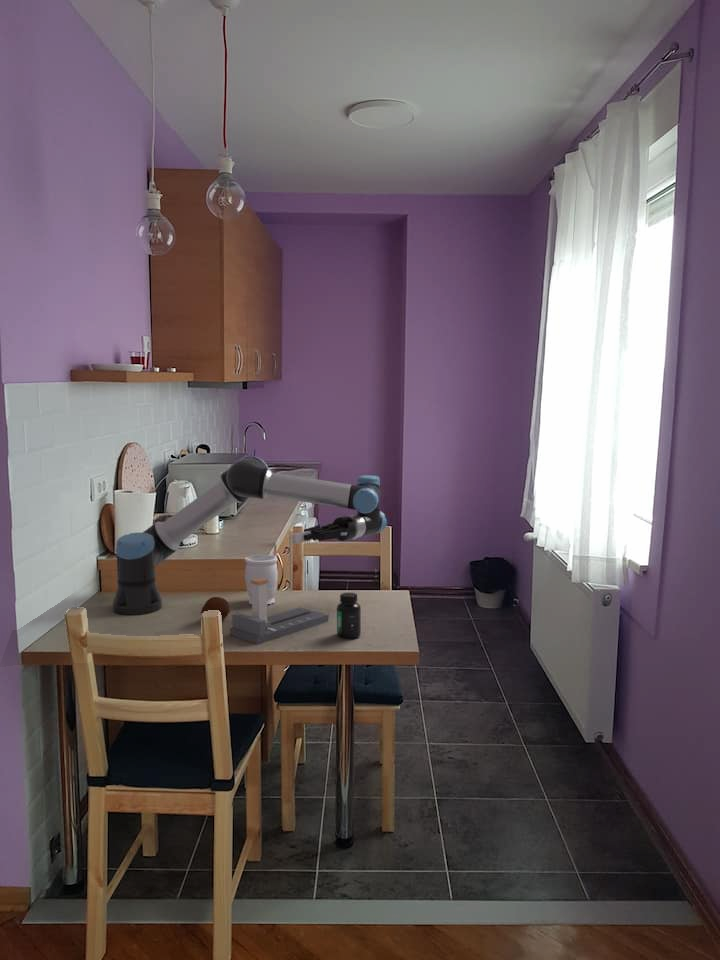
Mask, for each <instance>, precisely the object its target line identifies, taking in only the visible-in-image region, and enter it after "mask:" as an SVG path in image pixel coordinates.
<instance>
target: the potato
mask: <svg viewBox="0 0 720 960" xmlns="http://www.w3.org/2000/svg"><path fill="white" fill-rule="evenodd" d="M208 610H219V611H220V612H221V615H222V621H224V619H226V618H227V617H228V615H229V614H230V610H231V609H230V606H229V602H228V601H227V600H226V599H225V598H223V597H220V596H219V597H218V596H213V597H209V599H207V600H206V601H205V603H204V604H203V606H202V608H201V612H200V613H201V614H202V613H203V612H204V611H208Z"/></svg>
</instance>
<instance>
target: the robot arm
mask: <svg viewBox="0 0 720 960" xmlns="http://www.w3.org/2000/svg"><path fill="white" fill-rule="evenodd" d="M380 483H381V480H380V477H379V476H378V475H368V474H367V475H359V476H358V477H357V478H356V485H355V484H349V483H341V482H335V481H329V480H322V479H316V478H312V477H311V478H310V477H304V476H296V475H291V474H283V473H278V472H273V471H272V470H271V469H270V468H269V466H268V465H267V463H266V462H265V461H264V460H263V459H262V458H260V457H257V456H245V457H243V458H241V459H240V460H238V461H236V462H234V463H232V464H231V465H230V466H229V468H228V469H227V470H225V471H224V472H223V473H221V474H220V479H219V480H218V482H217V483H215V484H214V485H212V486H211V487H210V488H209V489H207V490H206V491H205V492H203V493H202V494H200V495H199V496H198V497H196V498H195V499H194V500H192V501H191V502H190V503H189V504H186V505H185V506H184V507H182V508H181V509H180V510H179V511H177V512H176V513H175V514H173V515H172V516H171V517H169V518H168V519H167V520H165V521H156V522H155V523H153V524H152V525H151V526H149V527H148V528H147V529H145V530H144V531H142V532H131V533H128V534H124V535H122V536H120V537H119V538H118V539H117V540H116V545H115V546H116V547H115V556H116V557H115V558H116V575H117V576H116V578H117V588H116V591H115V594H114V598H113V601H112V611H113V612H114V613H115V614H119V615H128V616H129V615H131V616H133V615H135V616H136V615H144V614H149V613H154V612H156V611H159V610H160V609H161V608H162V607H163V601H162V600H163V599H162V597H161V594H160V591H159V589H158V586H157V584H156V581H157V580H156V566H158V565H159V564H161V563H163V562H164V561H166V560H167V559H168V557H170V556H172V555H173V554H174V553H176V552H177V551H178V550H179V549H180V544H181V543H182V542H183V541H184V540H186V539H187V538H188V537H190V536H191V535H193V534H194V533H195V532H197V531H198V530H199V529H201V528H202V527H204V526H205V525H207V524H208V523H209V522H211V521H212V520H213V519H215V518H216V517H218V516H219V515H220V514H222V513H223V512H224V511H225V510H227V509H228V508H229V507H231V506H232V505H234V504H235V503H238V504H243V503H244V502H245V501H247V500H249V499H250V498H254V499H261V500H266V499H267V498H275V499H283V500H289V501H298V502H302V503H309V504H316V505H323V506H330V507H334V508H335V507H336V508H343V509H344V508H345V509H349V510H353V511H354V510H355V511H356V514H355V513H354V514H350V515H344V516H340V517H336V518H335V519H334V520H333V522H332V523H328V524H325V525H321V524H316V525H314V526H312V527H308V528H305V529H303V531H301V532H296V533H291V543H292V544H300V543H305V542H310V541H319V542H321V541H327V540H338V541H340V542H345V541H348V540H353V541H355V540H357V538H362V537H367V536H374V535H376V534H380V533H381V532H383V531H384V530H385V529H386V527H387V522H388V520H387V518H386V515H385V513H384V512H383V511H381V508H380V507H381V506H380V505H381V504H380V503H381V484H380Z"/></svg>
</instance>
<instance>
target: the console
mask: <svg viewBox="0 0 720 960" xmlns="http://www.w3.org/2000/svg"><path fill="white" fill-rule="evenodd" d="M231 618H232V619H231V620H232V622H231V624H232V626H231V627H230V628H229V635H230V636H231V635H233V636H232V637H234V636H235V638H237V637H238V639H240V640H244V641H246V642H250V643H252V644H256V645H259V644H262V643H265V642H269V641H272V640H275V639H278V638H281V637H284V636H286V635H290V634H293V633H297V632H299V631H302V630H305V629H309V628H312V627H315V626H318V625H320V624H324V623H327V622H329V614H327V613H323V612H319V611H316V610H313V609H309V608H304V607H296V608H294V609H293V608H292V609H290V610H287V611H284V612H280V613H277V614H273V615H269V616H267V621H270V622H271V626H270V627H266V628H265V620H261V619H258V618H255V617H252V615H248V614H244V613H241V612H234V613H232V614H231Z"/></svg>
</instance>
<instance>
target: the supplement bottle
mask: <svg viewBox="0 0 720 960" xmlns="http://www.w3.org/2000/svg"><path fill="white" fill-rule="evenodd" d="M339 596H340V597H339V603H338V604H337V605H336V635H337V637H338V638H339V639H343V640H354V639H358V638H359V637H360V636H361V634H362V633H361V632H362V628H361V627H362V625H361V624H362V623H361V622H362V616H361V615H362V610H361V609H362V607H361V604H360V603H358V594H357V593H355V592H341V594H340V595H339Z"/></svg>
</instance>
